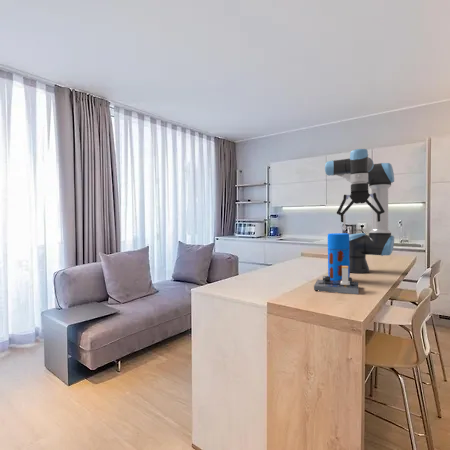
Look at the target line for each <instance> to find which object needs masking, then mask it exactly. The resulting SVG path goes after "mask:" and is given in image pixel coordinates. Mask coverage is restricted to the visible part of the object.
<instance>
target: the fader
mask: <svg viewBox="0 0 450 450" xmlns="http://www.w3.org/2000/svg"><path fill="white" fill-rule="evenodd" d="M340 285H350V281H348V266H342V281H341V283H340Z"/></svg>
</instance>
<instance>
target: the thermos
mask: <svg viewBox="0 0 450 450" xmlns="http://www.w3.org/2000/svg"><path fill="white" fill-rule="evenodd" d="M349 235H350V233H344V232H342V233H341V232H340V233H337V232H335V233H328V234H327V271H328V272H327V274H328V275H327V276H330V280H333V281H342V266H348V277H351V276H350V274H351V273H350V252H349Z"/></svg>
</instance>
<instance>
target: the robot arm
mask: <svg viewBox="0 0 450 450" xmlns="http://www.w3.org/2000/svg"><path fill="white" fill-rule="evenodd" d="M368 153H369V151H368V149H367V148H357V149H353V150H351V151H350V154H349V158H343V159H335V160H332V159H331V160H329V161H326V163H325V165H324V172H325V174H326V176H338V177H340V178H343V179H345V180H346V181H347V182H349V183H350V194H344V195H343V199H342V201H341V203H340V205H339V207H338V209H337V210H336V214H337V215H339V216H340V223H342V224H343V230H346V229H347V228H346V225H347V224H346V213H347V211H348V210H349V209H350V208H351V207H352V206H353V205H354V204H367V205H368V206H369V207H370V209H371V230H370V231H369V232H368V235H367V234H366V233H365V232H359V233H358V232H356V233H351V234H350V233H349V252H350V272H352V273H351V274H365V273H369V272H370V267H369V264H368V261H367V259H366V257H367V255H370V256H381V257H383V256H387V257H388V256H391V254H392V253H393V249H394V245H395V236H394V235H392V232H391V231H390V230H389V189H390V187H392V184H393V183H394V182H395V173H394V168H393V166H392V164H391V163H390V162H380V163H374V161H373V159H372V158H371V157H369V154H368ZM369 189H371V193H370V192H369ZM370 197H371V202H370V201H369V200H368V199H369V198H370ZM349 199H350V200H351V201H349V203H348V205H346V207H345V208H344V206H345V203H346V201H347V200H349ZM343 208H344V210H342V209H343Z"/></svg>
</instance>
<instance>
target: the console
mask: <svg viewBox="0 0 450 450" xmlns="http://www.w3.org/2000/svg"><path fill="white" fill-rule="evenodd" d="M348 281H350V285H340V283H341V281H333V280H330V276H328V275H323V276H322V279H317V280H316V282H315V283H314V285H313V291H314V290H319V291H318V292H321V291H328V292H327V293H335V292H338V294H350V295H351V294H352V295H359V282H358V281H353V277H351V276H350V277H348Z"/></svg>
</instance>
